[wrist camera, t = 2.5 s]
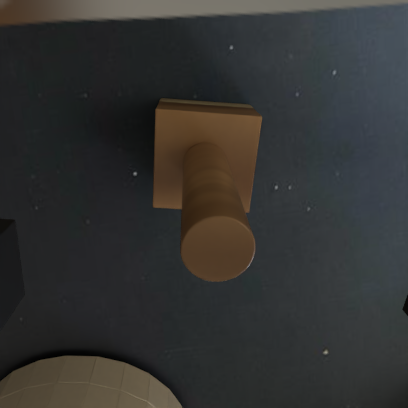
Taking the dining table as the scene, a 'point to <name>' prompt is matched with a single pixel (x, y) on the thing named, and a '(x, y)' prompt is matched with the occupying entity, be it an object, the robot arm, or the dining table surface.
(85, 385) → the bowl
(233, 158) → the brown wooden stamp
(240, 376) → the dining table surface
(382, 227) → the dining table surface
